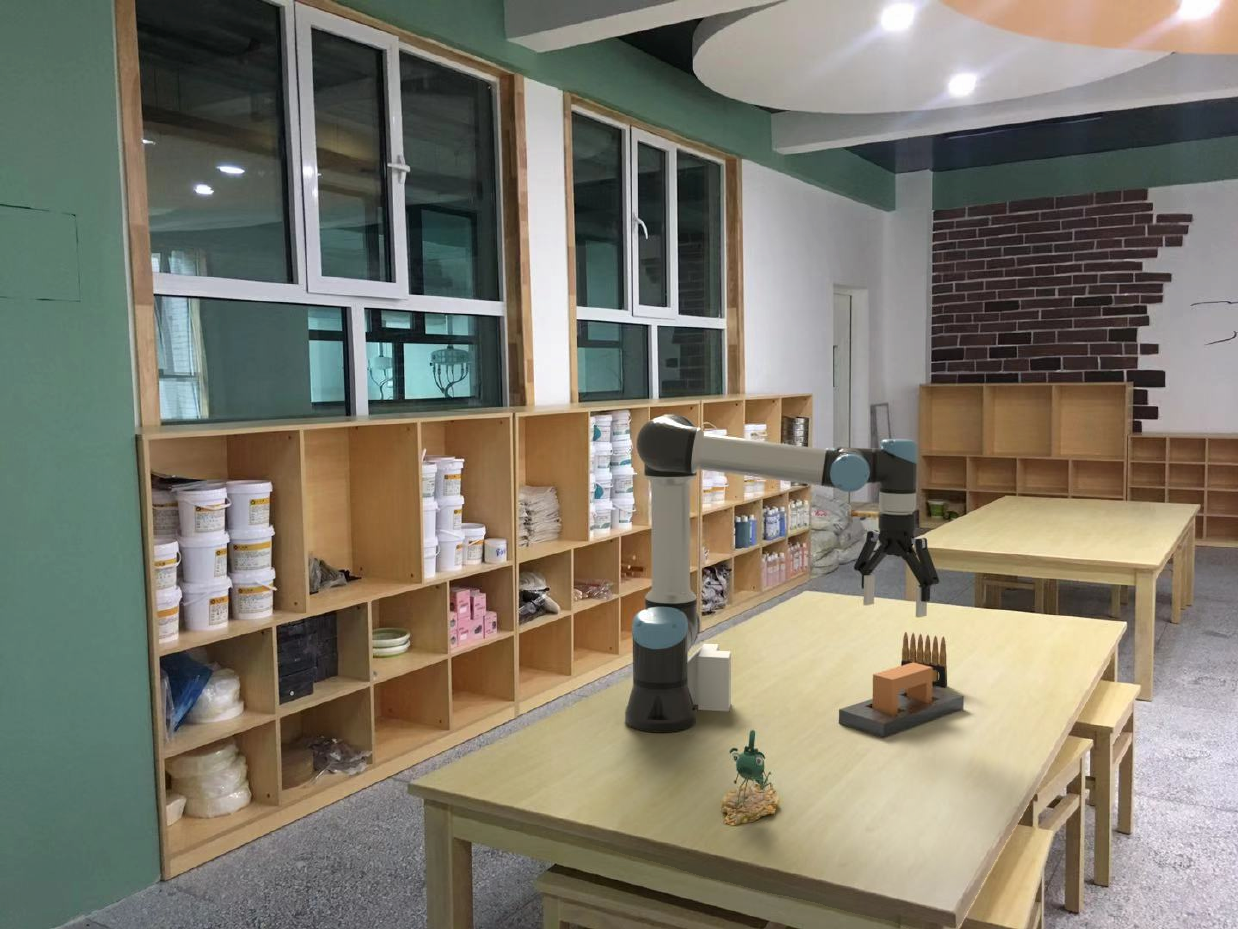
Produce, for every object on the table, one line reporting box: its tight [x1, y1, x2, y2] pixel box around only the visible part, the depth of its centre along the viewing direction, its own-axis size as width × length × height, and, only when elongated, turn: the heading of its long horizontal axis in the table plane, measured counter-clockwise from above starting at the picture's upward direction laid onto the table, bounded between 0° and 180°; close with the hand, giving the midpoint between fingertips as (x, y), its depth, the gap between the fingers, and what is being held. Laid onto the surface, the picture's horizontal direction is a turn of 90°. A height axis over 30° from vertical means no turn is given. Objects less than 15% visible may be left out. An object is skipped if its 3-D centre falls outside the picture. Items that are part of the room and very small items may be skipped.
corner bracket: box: [687, 643, 732, 712], centre depth 235 cm, size 11×11×12 cm
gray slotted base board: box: [838, 686, 965, 739], centre depth 225 cm, size 28×12×3 cm, turn 128°
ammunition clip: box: [900, 631, 948, 689], centre depth 247 cm, size 11×2×12 cm, turn 59°
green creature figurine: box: [721, 729, 781, 827], centre depth 178 cm, size 10×18×15 cm, turn 145°
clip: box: [872, 662, 933, 715], centre depth 224 cm, size 14×5×10 cm, turn 128°
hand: (894, 610), depth 223 cm, fingers open, 13 cm apart
